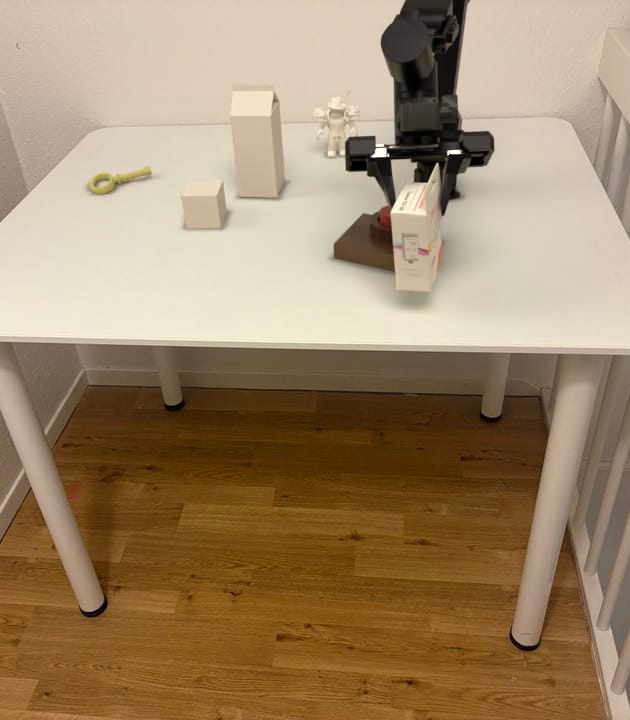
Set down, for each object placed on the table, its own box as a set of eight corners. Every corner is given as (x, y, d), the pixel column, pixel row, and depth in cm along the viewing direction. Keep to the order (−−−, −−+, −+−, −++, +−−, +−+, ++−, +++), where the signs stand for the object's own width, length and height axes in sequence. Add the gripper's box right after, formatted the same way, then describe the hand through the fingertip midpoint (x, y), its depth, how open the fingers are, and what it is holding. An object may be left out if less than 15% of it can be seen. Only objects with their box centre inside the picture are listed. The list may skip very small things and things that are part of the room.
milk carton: (277, 198, 130) (268, 91, 118) (239, 197, 131) (226, 91, 120) (285, 182, 135) (277, 77, 124) (248, 181, 137) (237, 77, 125)
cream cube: (227, 212, 127) (223, 180, 123) (220, 228, 122) (216, 195, 119) (193, 212, 128) (188, 180, 124) (186, 228, 123) (180, 195, 119)
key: (156, 178, 140) (154, 167, 139) (96, 196, 135) (93, 186, 134) (141, 167, 145) (139, 156, 144) (83, 184, 140) (80, 174, 139)
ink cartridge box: (407, 257, 103) (403, 159, 93) (443, 259, 101) (442, 159, 92) (394, 291, 97) (387, 190, 87) (431, 293, 95) (428, 191, 86)
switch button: (385, 213, 114) (385, 203, 113) (409, 217, 112) (409, 207, 111) (375, 224, 111) (375, 214, 110) (399, 229, 110) (400, 218, 108)
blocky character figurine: (359, 148, 146) (359, 88, 138) (360, 156, 142) (360, 94, 135) (314, 151, 146) (311, 91, 139) (314, 159, 143) (312, 97, 136)
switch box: (363, 227, 119) (363, 202, 117) (438, 242, 114) (440, 216, 111) (333, 259, 112) (333, 233, 109) (413, 276, 106) (414, 249, 104)
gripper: (343, 73, 88) (345, 198, 86) (501, 65, 86) (505, 193, 85) (344, 113, 99) (346, 225, 97) (484, 107, 97) (488, 220, 96)
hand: (418, 216), depth 93 cm, fingers closed on ink cartridge box, 6 cm apart
